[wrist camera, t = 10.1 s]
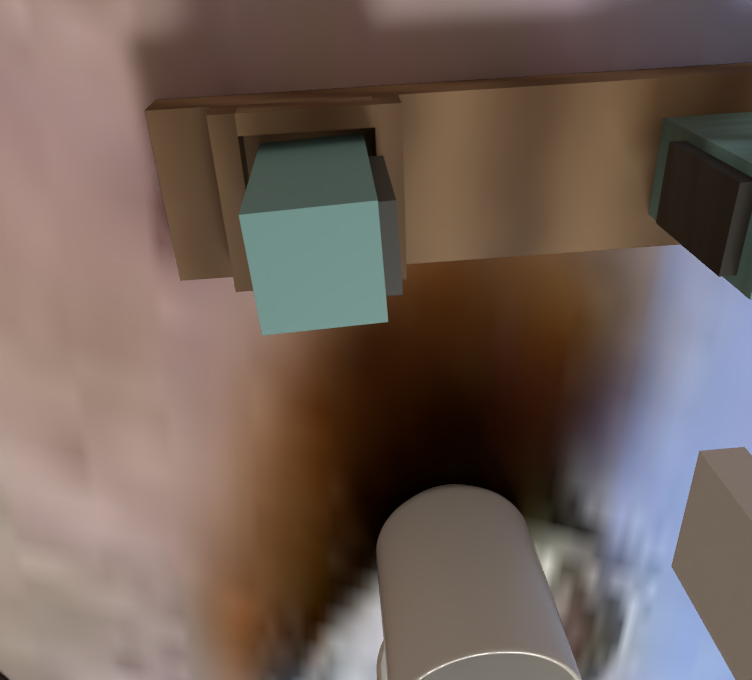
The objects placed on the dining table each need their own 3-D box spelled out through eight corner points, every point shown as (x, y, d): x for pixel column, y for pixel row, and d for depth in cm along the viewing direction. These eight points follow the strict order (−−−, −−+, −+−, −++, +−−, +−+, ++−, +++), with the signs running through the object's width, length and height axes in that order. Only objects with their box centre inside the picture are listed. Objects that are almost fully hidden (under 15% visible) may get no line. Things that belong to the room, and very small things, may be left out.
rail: (188, 261, 31) (137, 386, 22) (155, 100, 27) (79, 174, 19) (794, 218, 32) (970, 321, 23) (838, 56, 28) (1065, 108, 20)
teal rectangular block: (276, 239, 29) (262, 335, 22) (259, 143, 26) (238, 215, 20) (386, 228, 29) (407, 319, 22) (378, 131, 27) (398, 198, 20)
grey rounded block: (434, 449, 37) (473, 625, 28) (553, 510, 40) (626, 688, 31) (317, 581, 42) (316, 771, 32) (432, 627, 45) (462, 813, 35)
